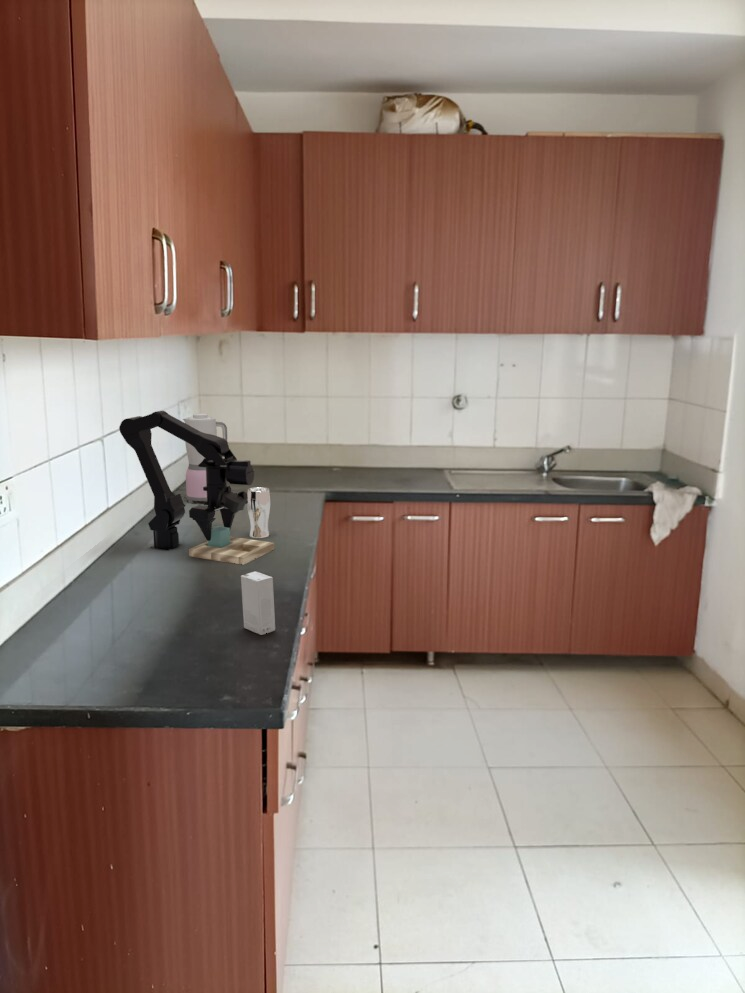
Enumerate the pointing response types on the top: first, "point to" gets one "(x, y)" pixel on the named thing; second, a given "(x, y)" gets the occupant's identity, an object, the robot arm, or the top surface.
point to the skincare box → (258, 602)
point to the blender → (199, 456)
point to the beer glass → (258, 511)
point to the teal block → (219, 537)
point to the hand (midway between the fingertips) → (218, 536)
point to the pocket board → (233, 550)
